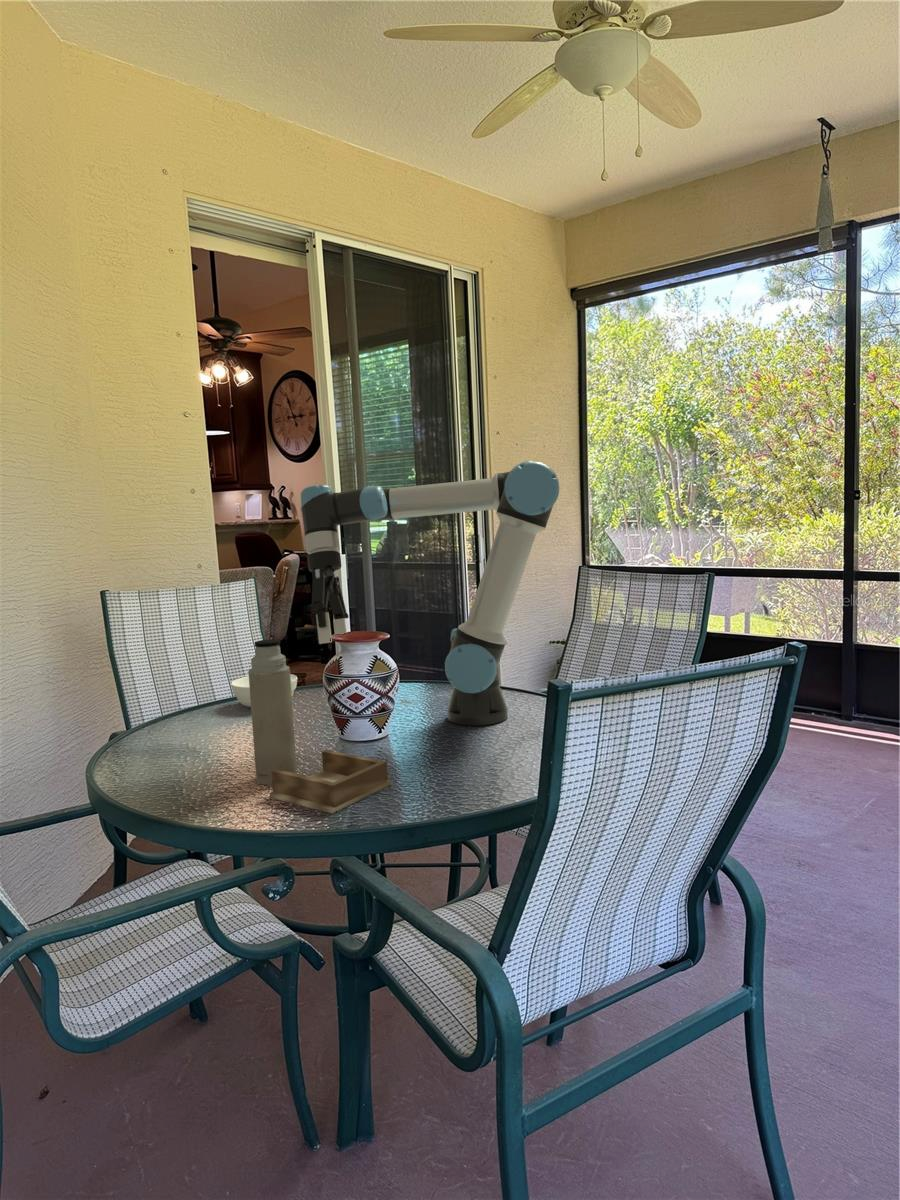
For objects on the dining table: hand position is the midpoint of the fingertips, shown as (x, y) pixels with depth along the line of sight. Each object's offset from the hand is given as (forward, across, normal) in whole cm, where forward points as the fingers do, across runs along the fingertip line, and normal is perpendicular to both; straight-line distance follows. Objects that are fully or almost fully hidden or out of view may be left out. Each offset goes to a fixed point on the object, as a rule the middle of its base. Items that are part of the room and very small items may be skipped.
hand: (334, 645), depth 168 cm
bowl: (+10, -42, -33) cm, 55 cm away
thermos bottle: (+27, +16, -11) cm, 33 cm away
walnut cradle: (+30, +23, +2) cm, 38 cm away
